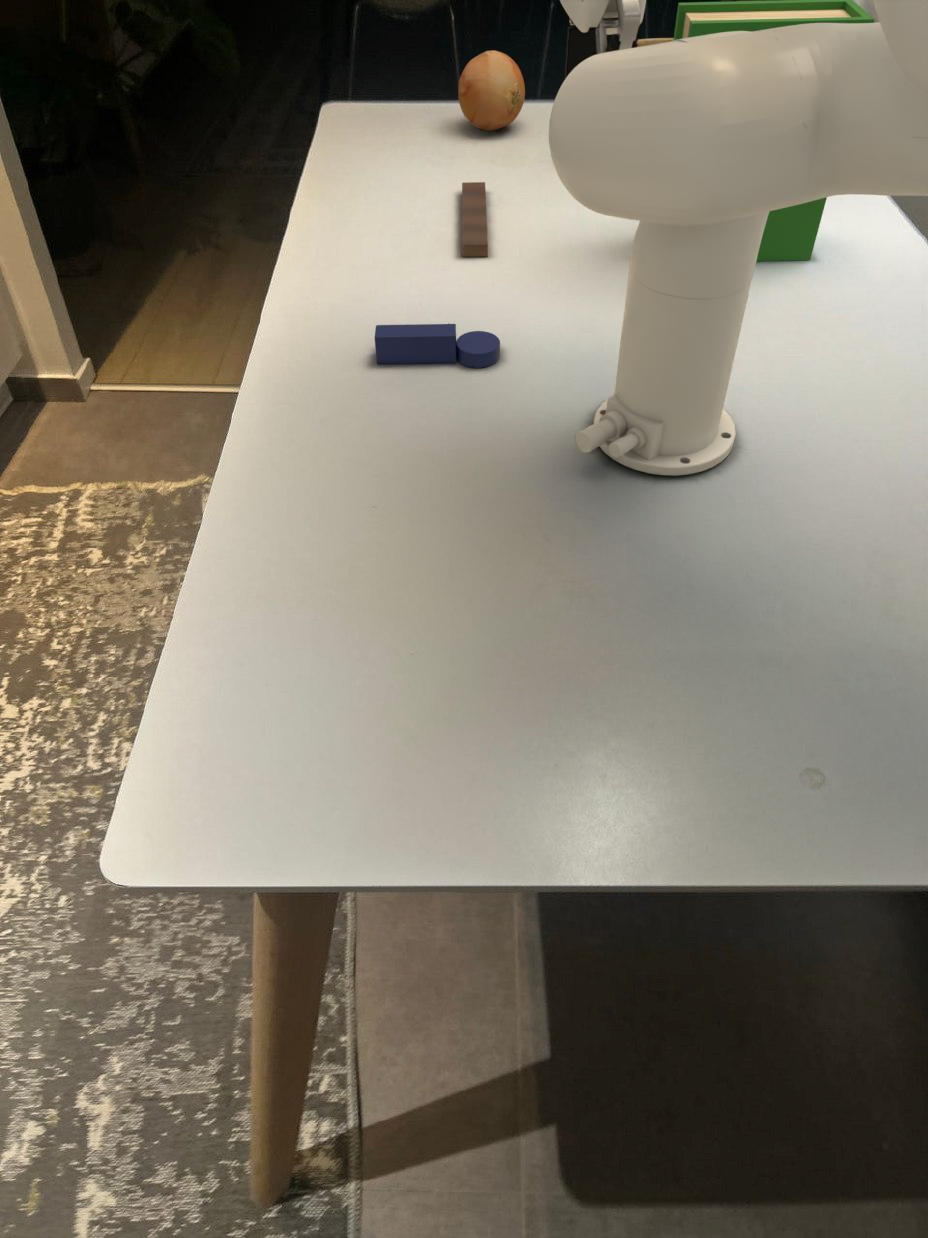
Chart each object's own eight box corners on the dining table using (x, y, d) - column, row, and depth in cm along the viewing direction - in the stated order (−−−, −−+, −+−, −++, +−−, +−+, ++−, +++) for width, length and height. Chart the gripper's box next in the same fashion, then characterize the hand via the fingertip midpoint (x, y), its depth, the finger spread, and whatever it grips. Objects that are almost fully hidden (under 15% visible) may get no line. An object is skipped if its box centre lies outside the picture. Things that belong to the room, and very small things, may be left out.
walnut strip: (487, 256, 108) (487, 244, 107) (462, 257, 108) (462, 244, 107) (485, 193, 121) (485, 181, 119) (462, 193, 121) (462, 182, 119)
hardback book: (657, 263, 106) (691, 23, 89) (647, 234, 111) (678, 2, 94) (810, 259, 106) (874, 18, 89) (793, 231, 111) (851, -2, 94)
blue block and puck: (376, 369, 92) (373, 342, 90) (379, 346, 95) (376, 319, 93) (500, 367, 92) (500, 340, 90) (499, 344, 95) (499, 317, 93)
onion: (502, 145, 132) (504, 66, 125) (445, 132, 136) (443, 55, 128) (536, 124, 137) (539, 47, 130) (480, 112, 141) (480, 37, 134)
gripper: (544, -186, 70) (533, 66, 82) (592, -144, 58) (571, 141, 71) (640, -189, 70) (615, 62, 83) (707, -148, 59) (666, 136, 71)
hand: (595, 98), depth 77 cm, fingers open, 9 cm apart
